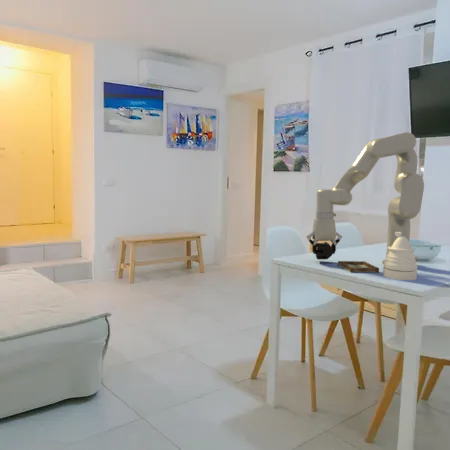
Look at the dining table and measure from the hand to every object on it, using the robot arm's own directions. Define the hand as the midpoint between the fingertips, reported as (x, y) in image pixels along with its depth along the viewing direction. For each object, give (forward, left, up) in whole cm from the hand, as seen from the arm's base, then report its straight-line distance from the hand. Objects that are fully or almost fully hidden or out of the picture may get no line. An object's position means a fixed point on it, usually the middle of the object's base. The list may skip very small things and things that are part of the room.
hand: (323, 253), depth 207 cm
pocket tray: (-11, +13, -4) cm, 18 cm away
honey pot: (-23, +28, -4) cm, 37 cm away
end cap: (0, 0, -2) cm, 2 cm away
